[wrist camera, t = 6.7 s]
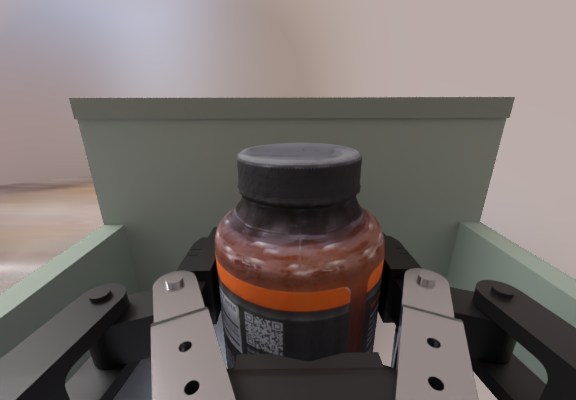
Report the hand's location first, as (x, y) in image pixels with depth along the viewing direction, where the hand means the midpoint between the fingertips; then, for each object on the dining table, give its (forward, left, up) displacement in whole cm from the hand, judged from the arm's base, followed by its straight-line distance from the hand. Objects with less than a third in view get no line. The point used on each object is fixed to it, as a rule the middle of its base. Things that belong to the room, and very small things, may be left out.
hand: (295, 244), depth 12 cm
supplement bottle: (-1, -2, -7) cm, 7 cm away
